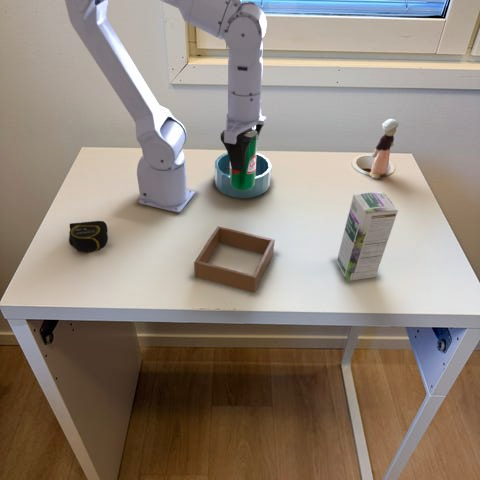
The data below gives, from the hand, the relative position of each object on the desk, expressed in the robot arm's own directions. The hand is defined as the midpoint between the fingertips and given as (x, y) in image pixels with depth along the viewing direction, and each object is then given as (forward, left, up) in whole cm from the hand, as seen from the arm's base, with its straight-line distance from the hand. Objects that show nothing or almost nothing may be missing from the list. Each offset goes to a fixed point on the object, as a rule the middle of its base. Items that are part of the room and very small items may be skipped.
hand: (242, 162), depth 90 cm
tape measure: (-23, -21, -11) cm, 33 cm away
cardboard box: (+5, -17, -10) cm, 21 cm away
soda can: (0, 0, -5) cm, 5 cm away
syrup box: (+26, -10, -11) cm, 30 cm away
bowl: (-3, +10, -10) cm, 14 cm away
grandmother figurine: (+25, +26, -11) cm, 37 cm away
